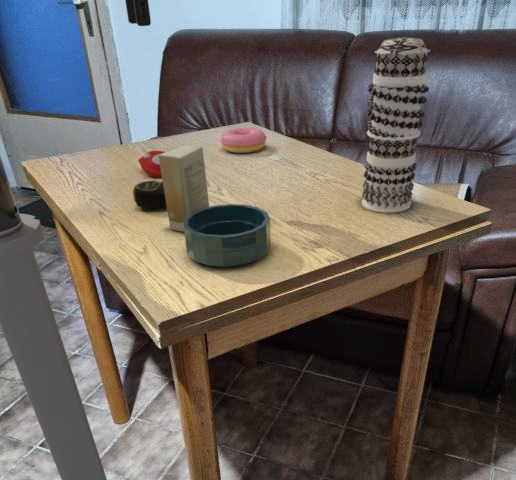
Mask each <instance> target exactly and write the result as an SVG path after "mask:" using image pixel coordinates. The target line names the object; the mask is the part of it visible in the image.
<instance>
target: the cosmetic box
mask: <svg viewBox="0 0 516 480" xmlns="http://www.w3.org/2000/svg"><path fill="white" fill-rule="evenodd" d="M159 162H160V168H161V174H162V177H161V180H162V182H163V186H164V192H165V199H166V211H167V217H168V222H169V229H170V230H173V231H179V232H183V233H185V232H184V221H183V220H184V219H185V218H186V217H187V216H188V215H189V214H191V213H193V212H195V211H197V210H199V209H202V208H206V207H210V202H209V191H208V183H207V176H206V175H207V174H206V173H207V172H206V165H205V157H204V149H203V146H198V145H197V146H196V145H189V144H179V145H178V146H175V147H173V148H171V149H169V150H166V151H164V153H162V154H160V155H159Z"/></svg>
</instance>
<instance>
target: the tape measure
mask: <svg viewBox="0 0 516 480" xmlns="http://www.w3.org/2000/svg"><path fill="white" fill-rule="evenodd" d="M132 195H133V201H134V202H135V204H136V206H138V207H140V208H144V209H155V208H161V207H167V205H166V199H165V192H164V186H163V181H159V180H147V181H141V182H139V183H137V184H135V185H134V187H133V190H132Z"/></svg>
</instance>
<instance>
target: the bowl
mask: <svg viewBox="0 0 516 480" xmlns="http://www.w3.org/2000/svg"><path fill="white" fill-rule="evenodd" d="M183 221H184V232H183V233H184V239H185V247H186V253H187V256H188V257H189V258H190V259H192V260H193V261H194V262H197V263H200V264H203V265H205V266H210V267H215V268H233V267H241V266H246V265H248V264H252V263H254V262H255V261H258V260H260V259H262V258H263V257H264V256H266V255H267V254H268V253H269V251H270V249H271V247H272V238H271V236H272V235H271V218H270V215H269V213H268V212H267V211H265V210H264V209H262V208H260V207H258V206H253V205H248V204H240V203H226V204H215V205H212V206H211V205H210V206H209V207H206V208H202V209H199V210H197V211H195V212H193V213H191V214H189V215H188V216H187V217H186V218H185V219H184V220H183Z"/></svg>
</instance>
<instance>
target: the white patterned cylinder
mask: <svg viewBox="0 0 516 480" xmlns="http://www.w3.org/2000/svg"><path fill="white" fill-rule="evenodd" d="M429 52H431V50H430V49H428V48H427V46H426V43H425V41H424V40H423V39H421V38H419V37H393V38H387V39H385V40H383V41H382V43H381V44H380V46H379V47H378V49H377V50H375V51H374V53H375V54H376V55H375V66H374V67H375V69H374V73H373V75H372V76H373V77H372V82H371V83H369V84H368V88H367V91H368V92H369V93H370V95H371V96H370V97H369V98H368V99H367V105H368V107H369V108H368V109H367V113H366V115H367V116H368V118H369V121H367V124H366V125H367V126H366V128H367V131H366V135H367V136H368V137H369V142H368V151H367V152H366V161H365V163H364V165H363V167H364V169H365V171H364V174H363V177H364V178H365V180H364V181H363V182H362V188H363V190H362V193H361V197H362V198H363V199H362V200H361V205H362V207H363V208H365V209H367V210H368V211H369V210H370V211H371V212H377V213H385V214H387V213H399V212H404V211H406V210H408V209H410V207H411V206H412V202H411V200H412V198H413V192H412V191H413V190H414V186H415V183H413V181H412V180H414V179H415V176H416V173H415V172H413V171H415V170H416V168H417V163H415V162H416V156H417V152H416V147H417V138H419V137H420V136H421V133H422V132H421V129H420V128H422V127H423V122H422V121H420V119H421V118H422V117H425V112H424V111H423V110H422V109H421V105H424V104H425V103H427V101H428V99H427V98H426V97H425V95H423V94H426V93H428V92H429V90H430V87H429V86H428V85H426V81H427V72H426V69H427V62H428V55H429Z"/></svg>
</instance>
